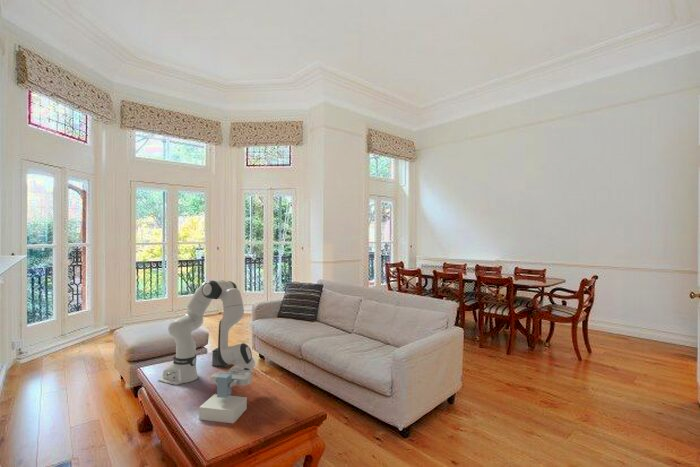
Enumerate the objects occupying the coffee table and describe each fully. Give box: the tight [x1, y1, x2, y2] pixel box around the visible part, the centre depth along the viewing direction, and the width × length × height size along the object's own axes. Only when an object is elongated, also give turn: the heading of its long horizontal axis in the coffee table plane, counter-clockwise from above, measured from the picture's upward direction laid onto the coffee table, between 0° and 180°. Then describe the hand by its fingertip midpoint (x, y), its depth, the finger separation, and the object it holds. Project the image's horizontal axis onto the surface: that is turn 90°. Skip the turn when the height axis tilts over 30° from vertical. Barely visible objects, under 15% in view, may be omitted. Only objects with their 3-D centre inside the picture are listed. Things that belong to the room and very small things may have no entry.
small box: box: [211, 347, 228, 368], centre depth 240 cm, size 11×6×10 cm, turn 84°
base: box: [198, 393, 248, 424], centre depth 176 cm, size 18×14×6 cm
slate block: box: [216, 373, 232, 398], centre depth 176 cm, size 5×5×10 cm
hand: (223, 385), depth 175 cm, fingers closed on slate block, 5 cm apart
